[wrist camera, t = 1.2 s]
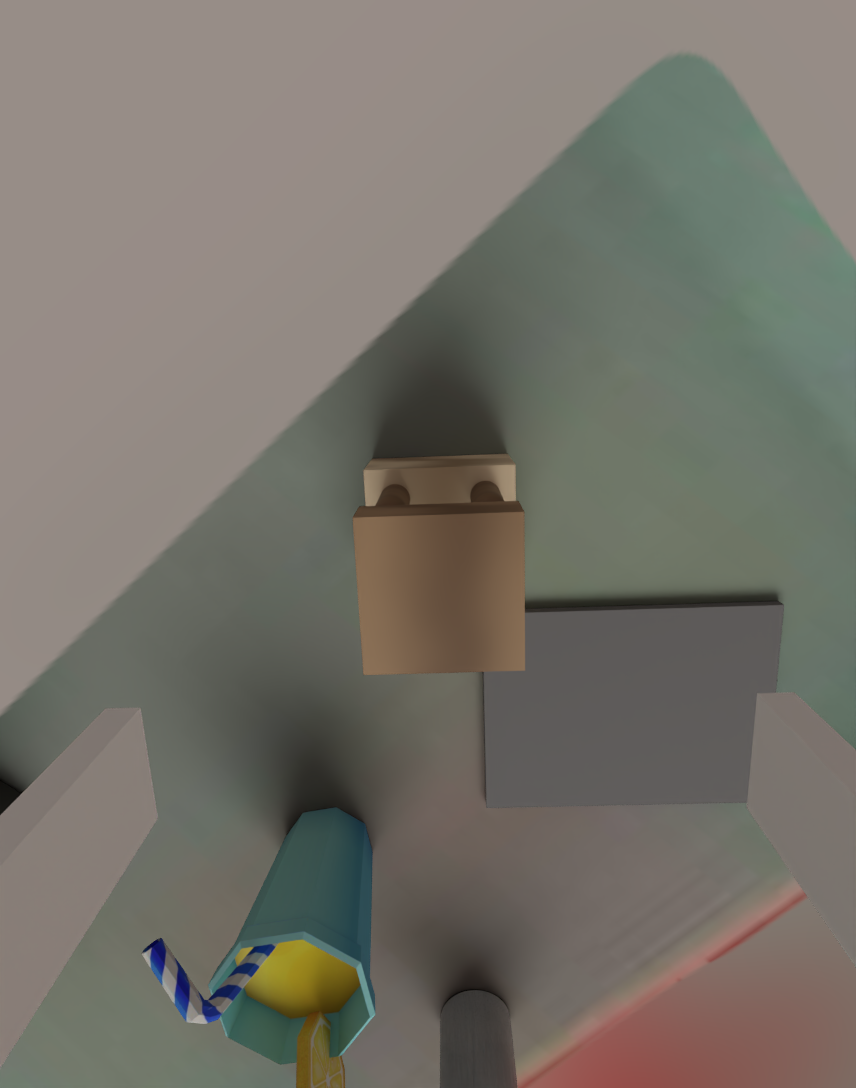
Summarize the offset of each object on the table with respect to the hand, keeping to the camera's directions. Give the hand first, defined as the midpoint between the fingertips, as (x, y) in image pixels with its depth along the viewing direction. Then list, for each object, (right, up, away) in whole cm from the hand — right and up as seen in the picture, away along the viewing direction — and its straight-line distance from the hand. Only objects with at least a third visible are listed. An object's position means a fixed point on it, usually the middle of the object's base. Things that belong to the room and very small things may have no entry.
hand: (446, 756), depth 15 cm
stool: (0, +5, +18) cm, 18 cm away
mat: (+11, -5, +24) cm, 27 cm away
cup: (-7, -13, +27) cm, 31 cm away
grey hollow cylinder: (+3, -26, +30) cm, 40 cm away
